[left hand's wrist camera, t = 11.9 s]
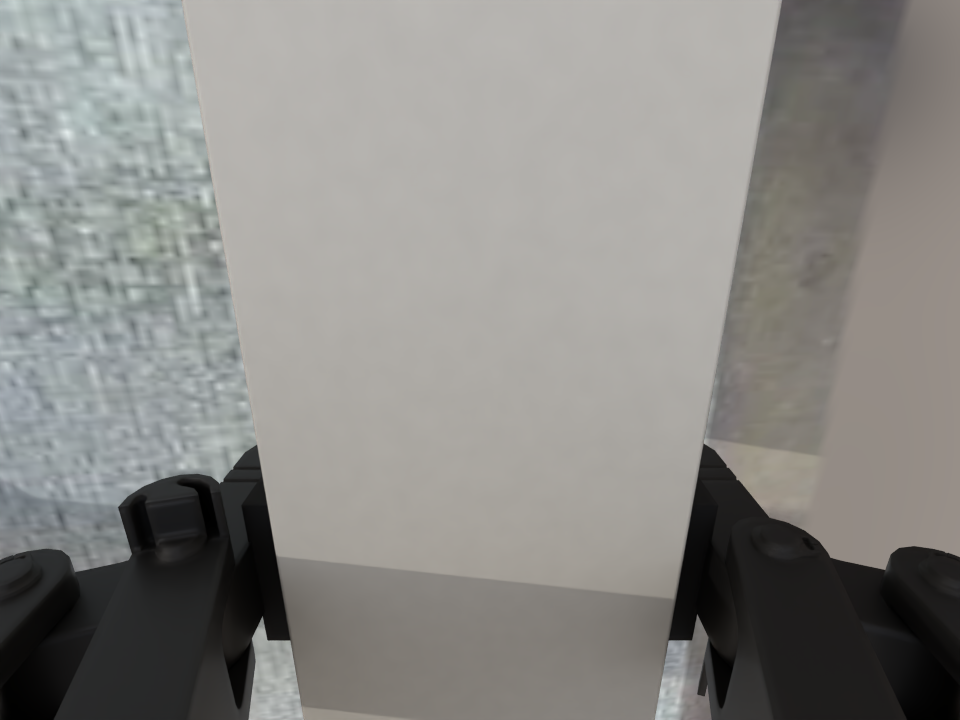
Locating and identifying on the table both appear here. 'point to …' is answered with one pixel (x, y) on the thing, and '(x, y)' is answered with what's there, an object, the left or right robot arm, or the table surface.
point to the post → (480, 328)
